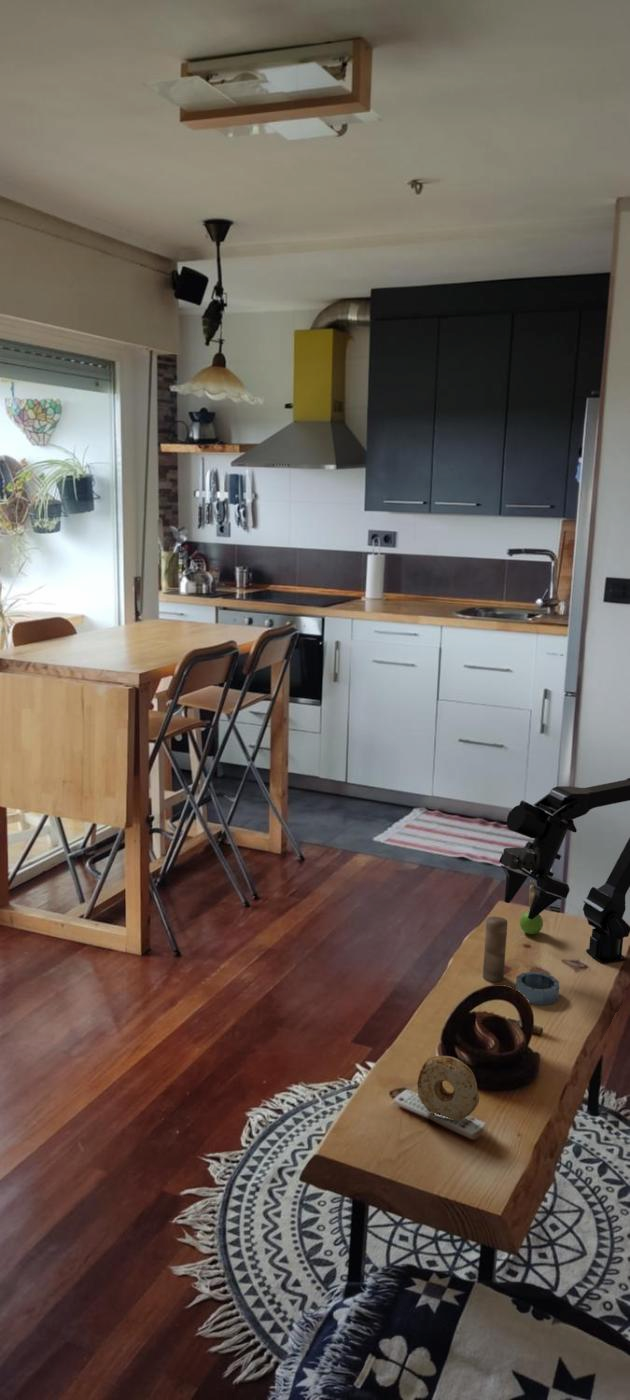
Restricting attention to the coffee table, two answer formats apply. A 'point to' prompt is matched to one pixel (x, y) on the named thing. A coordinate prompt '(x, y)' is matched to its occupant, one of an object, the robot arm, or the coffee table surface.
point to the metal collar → (538, 980)
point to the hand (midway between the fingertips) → (518, 910)
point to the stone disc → (437, 1097)
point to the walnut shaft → (495, 949)
